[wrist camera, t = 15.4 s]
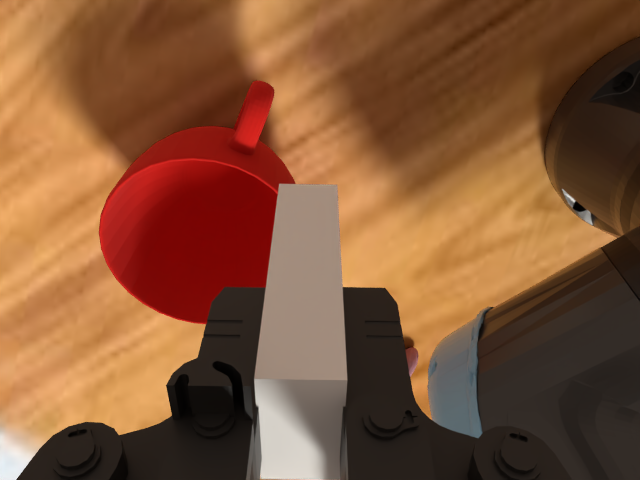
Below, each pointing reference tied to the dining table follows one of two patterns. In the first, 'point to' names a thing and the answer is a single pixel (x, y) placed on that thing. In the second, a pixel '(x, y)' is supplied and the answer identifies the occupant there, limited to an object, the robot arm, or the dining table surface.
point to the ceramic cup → (196, 214)
